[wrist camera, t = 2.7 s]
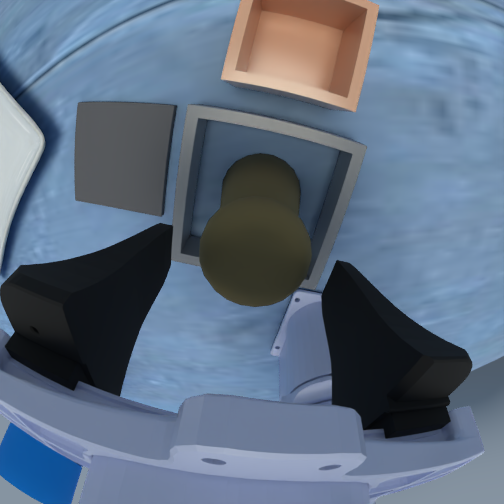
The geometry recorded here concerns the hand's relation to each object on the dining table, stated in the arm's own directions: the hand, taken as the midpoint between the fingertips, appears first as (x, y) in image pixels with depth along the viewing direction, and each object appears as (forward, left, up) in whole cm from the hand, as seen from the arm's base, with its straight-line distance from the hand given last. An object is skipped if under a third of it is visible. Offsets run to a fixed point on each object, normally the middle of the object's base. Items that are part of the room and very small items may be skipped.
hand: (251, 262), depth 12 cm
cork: (0, 0, -11) cm, 11 cm away
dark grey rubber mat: (+1, +12, -10) cm, 16 cm away
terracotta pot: (+11, 0, -10) cm, 15 cm away
